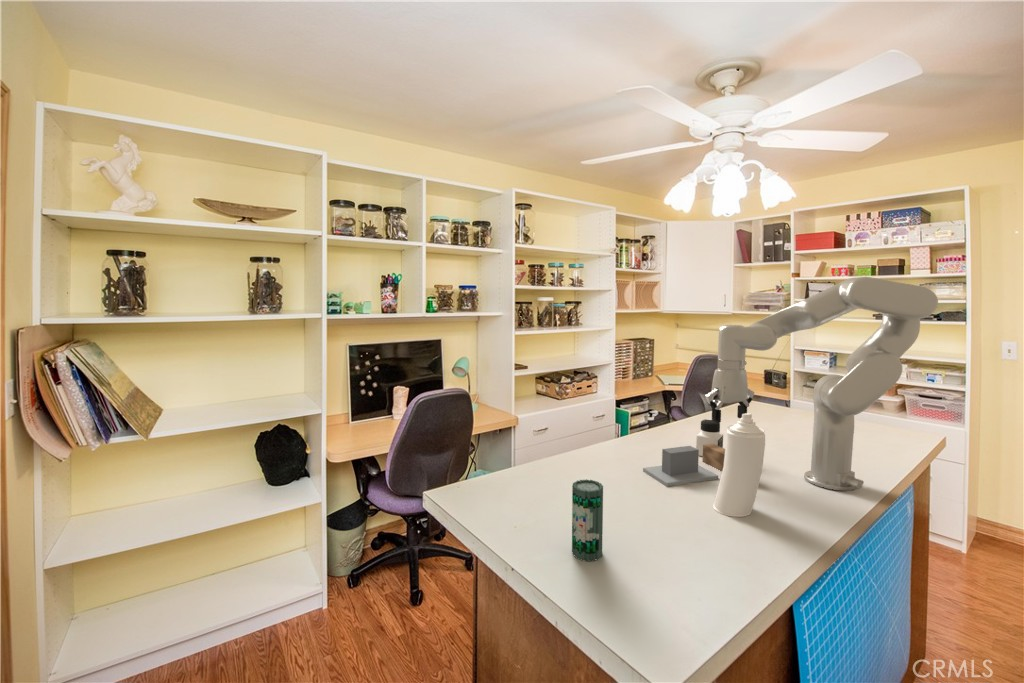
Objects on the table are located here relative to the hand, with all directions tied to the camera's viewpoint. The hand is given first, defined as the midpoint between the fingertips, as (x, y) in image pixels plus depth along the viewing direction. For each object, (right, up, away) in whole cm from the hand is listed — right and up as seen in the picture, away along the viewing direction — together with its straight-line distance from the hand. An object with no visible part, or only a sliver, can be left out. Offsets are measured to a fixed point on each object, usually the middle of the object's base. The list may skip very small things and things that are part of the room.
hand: (729, 420), depth 140 cm
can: (-51, -21, -43) cm, 70 cm away
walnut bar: (0, -16, +1) cm, 17 cm away
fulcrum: (-16, -17, -1) cm, 23 cm away
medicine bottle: (+1, -15, +16) cm, 22 cm away
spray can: (-9, -19, -23) cm, 31 cm away
